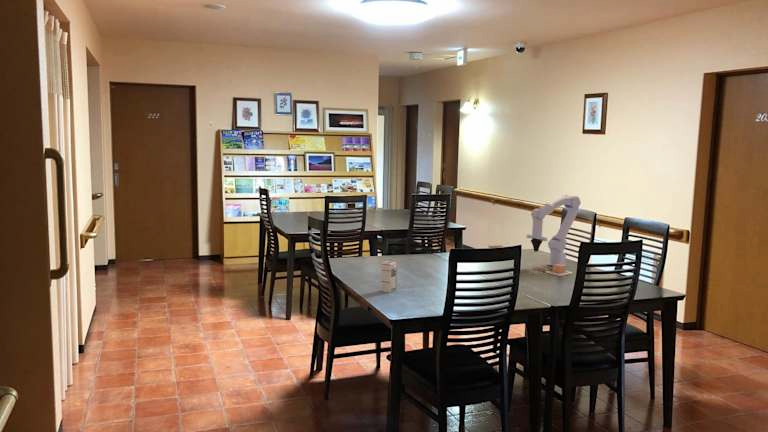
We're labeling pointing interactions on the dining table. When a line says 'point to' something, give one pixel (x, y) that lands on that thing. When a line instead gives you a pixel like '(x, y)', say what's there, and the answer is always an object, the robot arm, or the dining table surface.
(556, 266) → the terracotta block
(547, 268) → the parallel wooden rails
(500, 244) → the supplement box
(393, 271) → the syrup box
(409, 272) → the dining table surface
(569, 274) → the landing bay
